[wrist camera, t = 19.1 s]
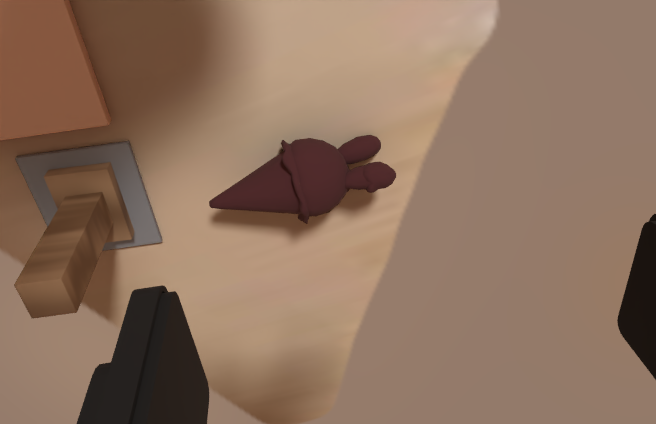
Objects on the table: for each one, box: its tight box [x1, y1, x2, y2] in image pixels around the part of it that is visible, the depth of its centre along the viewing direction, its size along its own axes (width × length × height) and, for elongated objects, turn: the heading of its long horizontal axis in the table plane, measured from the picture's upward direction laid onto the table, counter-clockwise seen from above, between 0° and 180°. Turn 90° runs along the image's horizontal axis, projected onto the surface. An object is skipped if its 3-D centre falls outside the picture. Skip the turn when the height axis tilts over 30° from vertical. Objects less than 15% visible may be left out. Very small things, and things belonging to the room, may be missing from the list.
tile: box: [0, 0, 111, 140], centre depth 39 cm, size 12×2×10 cm
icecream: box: [209, 135, 396, 224], centre depth 44 cm, size 7×7×15 cm
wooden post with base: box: [14, 162, 135, 318], centre depth 41 cm, size 7×5×12 cm
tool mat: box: [15, 141, 162, 251], centre depth 46 cm, size 10×9×1 cm
